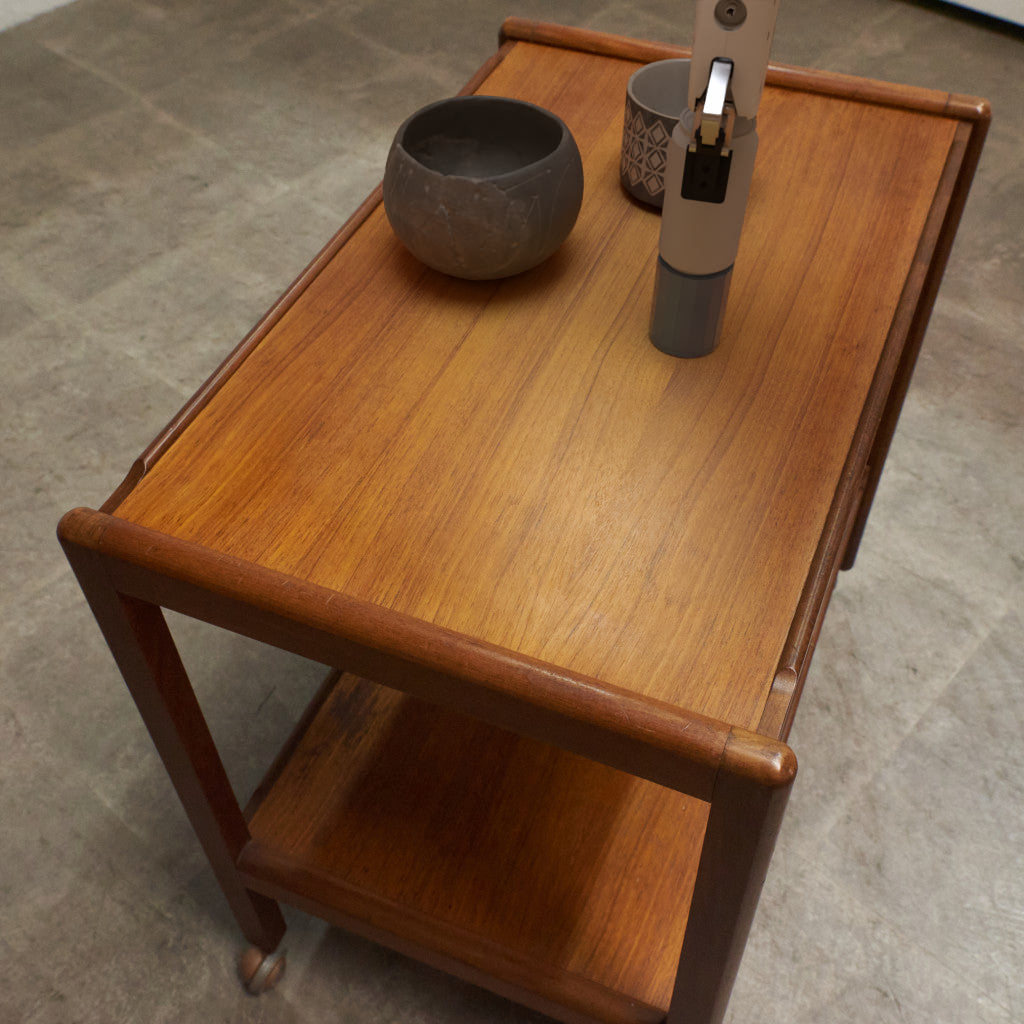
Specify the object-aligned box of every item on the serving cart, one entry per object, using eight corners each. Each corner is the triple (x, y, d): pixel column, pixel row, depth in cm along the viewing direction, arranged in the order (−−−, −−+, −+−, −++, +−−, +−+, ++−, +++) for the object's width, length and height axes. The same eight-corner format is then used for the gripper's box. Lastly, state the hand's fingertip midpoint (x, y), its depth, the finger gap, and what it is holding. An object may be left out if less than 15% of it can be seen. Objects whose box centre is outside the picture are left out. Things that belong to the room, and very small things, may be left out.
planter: (739, 157, 113) (756, 60, 105) (745, 224, 104) (764, 124, 96) (620, 151, 113) (628, 54, 106) (616, 217, 105) (625, 117, 97)
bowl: (358, 290, 97) (342, 163, 87) (434, 190, 108) (427, 68, 99) (543, 332, 93) (547, 203, 83) (602, 224, 104) (611, 100, 95)
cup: (724, 319, 94) (739, 242, 88) (715, 363, 90) (730, 285, 84) (655, 308, 95) (664, 231, 89) (643, 351, 91) (652, 273, 85)
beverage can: (642, 248, 88) (657, 109, 79) (707, 228, 90) (729, 90, 81) (685, 289, 84) (706, 148, 75) (752, 267, 86) (780, 127, 77)
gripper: (797, -21, 62) (748, 235, 74) (817, -119, 73) (771, 118, 86) (669, -34, 63) (642, 220, 76) (708, -128, 74) (679, 106, 87)
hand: (711, 165), depth 81 cm, fingers open, 9 cm apart
